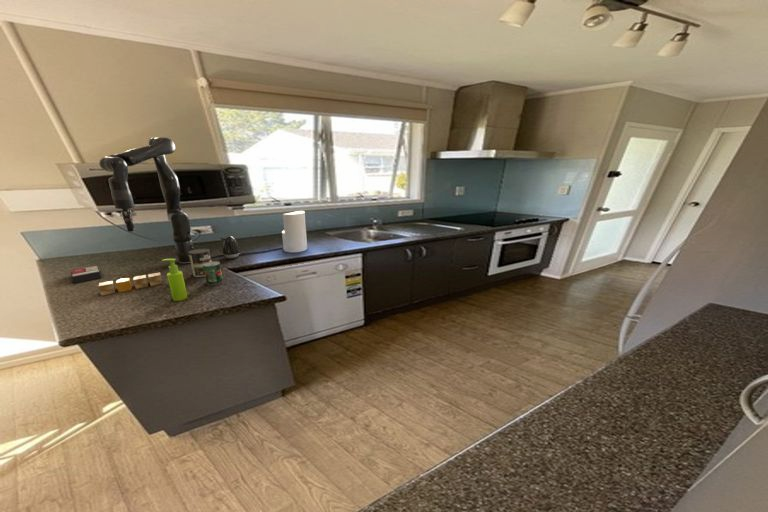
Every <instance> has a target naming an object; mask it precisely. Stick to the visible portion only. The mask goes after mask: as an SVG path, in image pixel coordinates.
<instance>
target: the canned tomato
mask: <svg viewBox="0 0 768 512" xmlns="http://www.w3.org/2000/svg"><path fill="white" fill-rule="evenodd" d="M203 267H204V273H205V276H204V277H205V283H206V285H207V286H217V285H220V284H222V283H223V282H224V279H223V273H222V272H223V271H222V267H221V262H220V261H217V260H211V262H207V263H204V264H203Z"/></svg>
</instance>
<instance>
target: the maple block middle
mask: <svg viewBox="0 0 768 512" xmlns="http://www.w3.org/2000/svg"><path fill="white" fill-rule="evenodd" d="M132 281H133V283H134V287H135V289H137V290H138V289H143V288H147V287H149V280H148V276H147V275H146V274H143V275H136V276H133V279H132Z"/></svg>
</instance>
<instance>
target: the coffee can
mask: <svg viewBox="0 0 768 512" xmlns="http://www.w3.org/2000/svg"><path fill="white" fill-rule="evenodd" d="M188 253H189V257H190V262H191V263H190V265H191V272H192V276H193V277H195V278H203V277H205V273H204V267H203V264H204V263H207V262H212V258H211V257H212V256H211V253H210V249H209V248H203V247H202V248H194V250H191V251H189V252H188Z"/></svg>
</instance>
